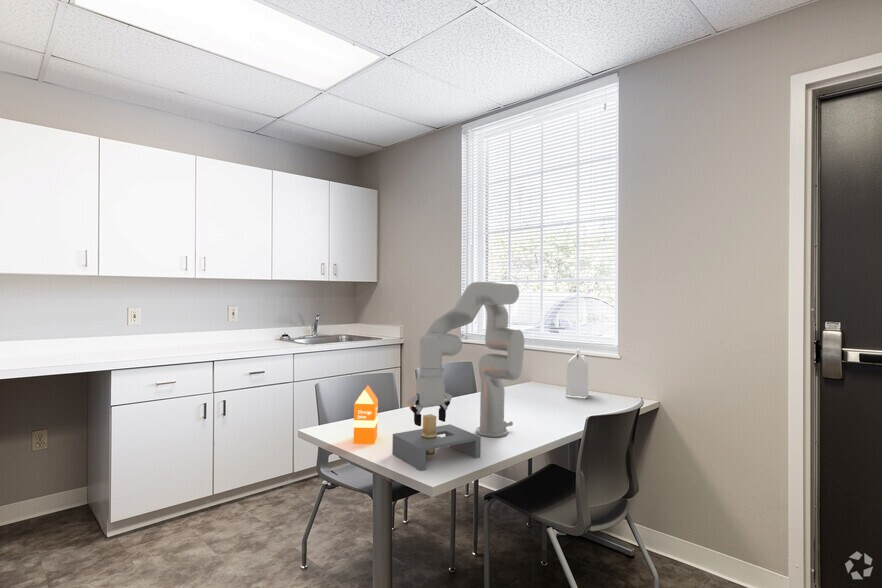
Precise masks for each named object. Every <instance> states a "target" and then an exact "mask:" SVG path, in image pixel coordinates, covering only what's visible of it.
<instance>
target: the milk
mask: <svg viewBox="0 0 882 588" xmlns="http://www.w3.org/2000/svg"><path fill="white" fill-rule="evenodd" d="M580 352H581V351H580V348H576V353H575V355H573V356H572V357H571V358H570V359H568V362H567V369H566V385H565V396H566V395H570V396H581V397H588V398H589V361H588V359H587V357H586V356H585V355H584V354H581V353H580Z"/></svg>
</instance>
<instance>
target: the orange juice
mask: <svg viewBox="0 0 882 588" xmlns="http://www.w3.org/2000/svg"><path fill="white" fill-rule="evenodd" d="M353 405H354V407H353V411H354V412H353V445H354V444H356V445H375V443H376V441H377V439H376V438H378V422H379V421H378V420H379V419H378V418H379V417H378V416H379V415H378V411H379V399H378V398H377V396H376V394H375V393H374V391H373V390H372V389H371V387H370V386H369V384H367V386H366V387H365V388H364V390H363V391H362V392H361V394H360V395H359V396H358V398H357V399H356V400H355V402H354V403H353Z"/></svg>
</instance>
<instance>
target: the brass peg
mask: <svg viewBox="0 0 882 588" xmlns="http://www.w3.org/2000/svg"><path fill="white" fill-rule="evenodd" d="M436 427H437V415H434V414H431V413H430V414H424V415H422V429H423V433H422V437H423V438H426V439H434V438H436V437H438V435H437V433H436ZM435 453H436V449H432V450H427V451H426V456H432V455H435Z"/></svg>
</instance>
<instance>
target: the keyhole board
mask: <svg viewBox="0 0 882 588" xmlns="http://www.w3.org/2000/svg"><path fill="white" fill-rule="evenodd" d="M422 433H423V428H421V429H414V430H409V431H402V432H396V433H393V434H392V447H391V448H392V452H391V453H392V455H393V456H394V457H396V458H398V459H399V460H401V461H403V462H404V463H406V464H408V465H409V464H410V465H409V466H411V467H413V468H414V467H415V468H414V469H416V470H418V471H419V470H420V472H421V470H423V471H425V470H427V468H426V467H427V465H426V464H427V455H426V451H427V450H432V449H435V450H436V449H441V448H446V447H450V448H453V449H455V450H457V451H460V452H462V453H463V454H465V455H467V456H470V457H472V458H474V459H479V458H481V450H482V449H481V447H482V445H481V441H482V439H481V435H480V436H479V434H475V433H473V432H470V431H467V430H465V429H463V428H460V427H458V426H456V425H453V424H450V423H448V424H443V425H438V426H437V425H436V433H437V437H436V438H434V439H426V438H423V437H422ZM441 435H445V436H441Z"/></svg>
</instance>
